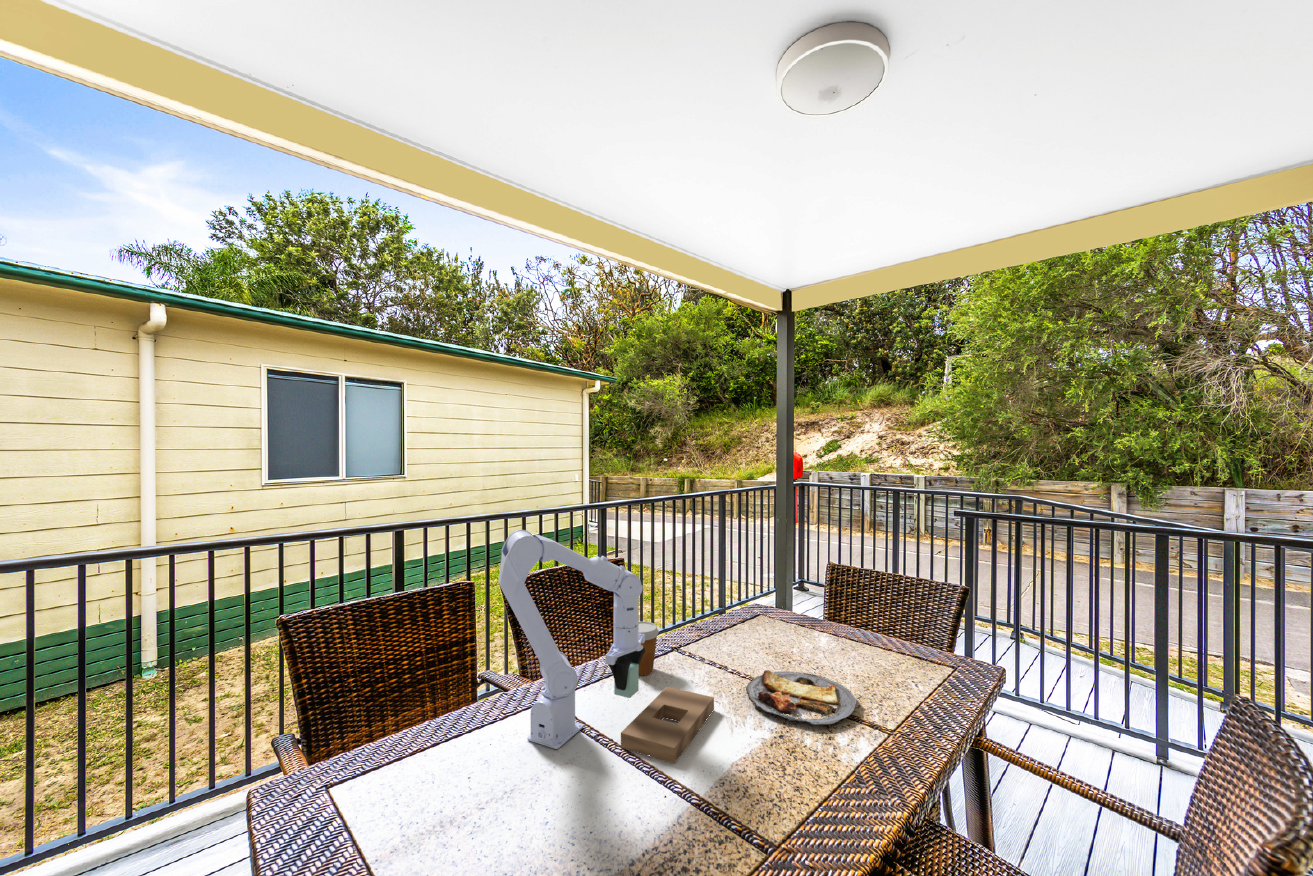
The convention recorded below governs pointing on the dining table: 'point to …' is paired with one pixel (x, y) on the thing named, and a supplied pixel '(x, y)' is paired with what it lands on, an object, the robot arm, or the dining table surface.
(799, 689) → the food plate
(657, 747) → the well board
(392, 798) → the dining table surface
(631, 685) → the teal block
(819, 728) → the dining table surface
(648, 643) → the disposable coffee cup
